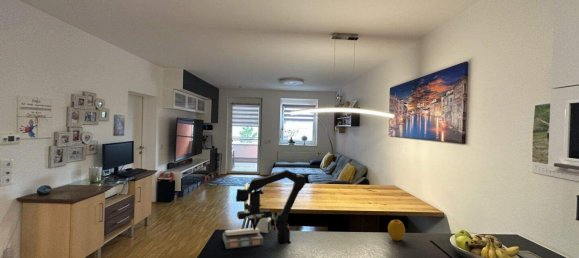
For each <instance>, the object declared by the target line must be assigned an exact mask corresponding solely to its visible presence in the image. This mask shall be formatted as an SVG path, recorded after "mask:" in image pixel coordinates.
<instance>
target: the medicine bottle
mask: <svg viewBox="0 0 579 258" xmlns="http://www.w3.org/2000/svg"><path fill="white" fill-rule="evenodd" d="M260 212H263V210H260ZM261 217H262V219H260V221H259V222H258V224H257V226H256V228H258V229H260V232H259V233H262V234H264V233H265V234H269V232H270V231H271V230H272V218H271V217H266V216H265V215H262V216H261Z"/></svg>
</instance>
